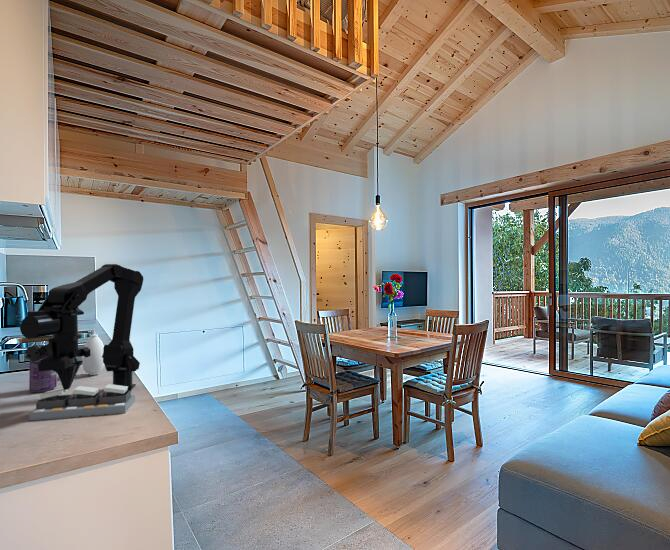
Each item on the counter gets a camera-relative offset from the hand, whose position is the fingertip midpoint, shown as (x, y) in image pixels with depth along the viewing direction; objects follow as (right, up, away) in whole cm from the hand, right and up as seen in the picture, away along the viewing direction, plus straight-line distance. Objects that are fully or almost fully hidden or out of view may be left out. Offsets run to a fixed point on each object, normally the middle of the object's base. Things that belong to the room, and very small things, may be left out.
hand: (66, 389), depth 105 cm
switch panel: (+5, -6, +1) cm, 8 cm away
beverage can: (-22, -7, +20) cm, 31 cm away
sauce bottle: (-18, -7, +40) cm, 44 cm away
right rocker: (+12, -1, +3) cm, 12 cm away
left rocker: (-3, -1, -1) cm, 3 cm away
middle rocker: (+5, -1, +1) cm, 5 cm away
